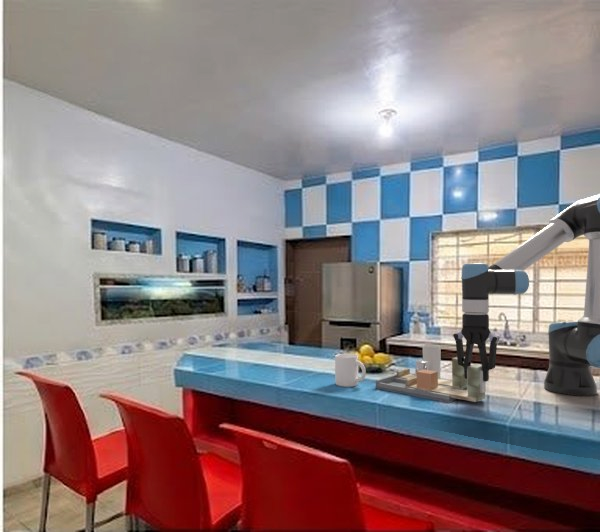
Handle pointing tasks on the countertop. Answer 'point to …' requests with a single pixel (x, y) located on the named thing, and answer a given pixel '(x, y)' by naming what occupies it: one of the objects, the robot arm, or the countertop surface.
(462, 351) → the robot arm
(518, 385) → the countertop surface
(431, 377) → the terracotta cube
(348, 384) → the mug
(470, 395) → the strip
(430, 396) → the lane board
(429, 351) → the grey bookend
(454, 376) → the strip
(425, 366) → the tin can
